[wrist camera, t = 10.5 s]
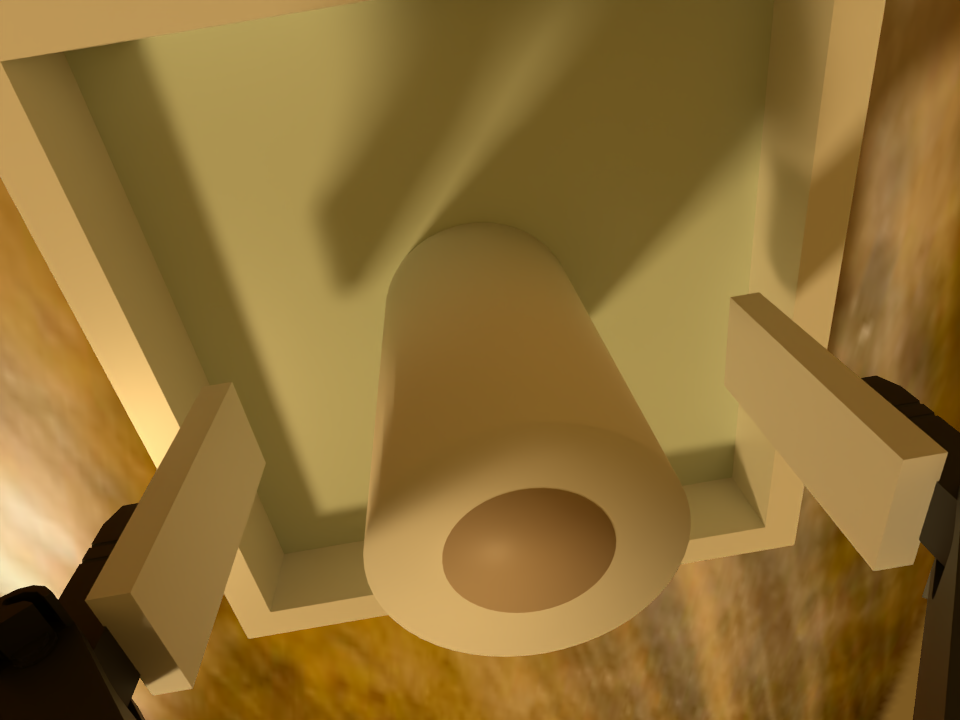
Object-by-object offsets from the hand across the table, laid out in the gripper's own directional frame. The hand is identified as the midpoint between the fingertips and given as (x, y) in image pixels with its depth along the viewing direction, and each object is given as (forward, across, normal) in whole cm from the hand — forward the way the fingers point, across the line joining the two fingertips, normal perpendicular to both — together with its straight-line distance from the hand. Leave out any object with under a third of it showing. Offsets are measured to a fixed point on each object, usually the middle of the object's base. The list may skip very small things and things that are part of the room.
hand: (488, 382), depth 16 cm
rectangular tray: (+5, 0, 0) cm, 5 cm away
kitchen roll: (+4, 0, 0) cm, 4 cm away
